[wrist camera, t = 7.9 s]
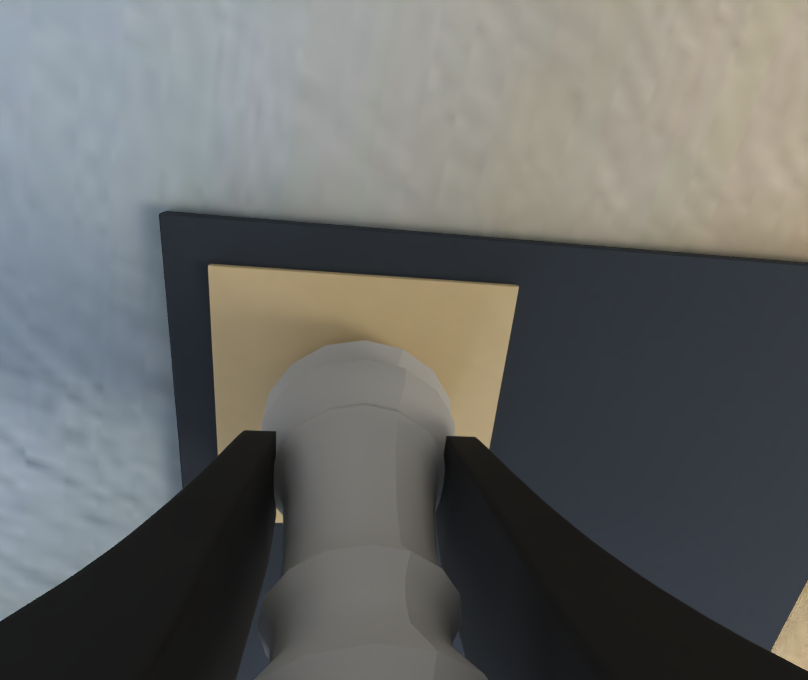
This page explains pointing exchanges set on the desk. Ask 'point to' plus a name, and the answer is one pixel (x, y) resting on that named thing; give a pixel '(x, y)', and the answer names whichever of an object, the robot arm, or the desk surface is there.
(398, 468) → the rook chess piece
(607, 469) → the desk pad
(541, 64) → the desk surface
